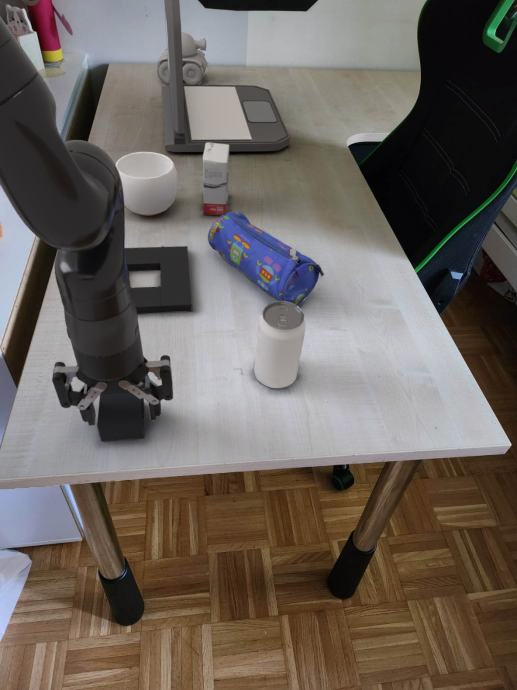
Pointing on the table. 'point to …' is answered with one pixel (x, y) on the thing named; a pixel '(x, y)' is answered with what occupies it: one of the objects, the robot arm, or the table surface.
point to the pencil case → (264, 258)
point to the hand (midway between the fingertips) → (123, 417)
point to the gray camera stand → (215, 107)
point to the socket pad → (162, 279)
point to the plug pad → (120, 417)
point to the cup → (147, 182)
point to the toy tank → (186, 61)
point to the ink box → (215, 178)
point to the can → (279, 344)
